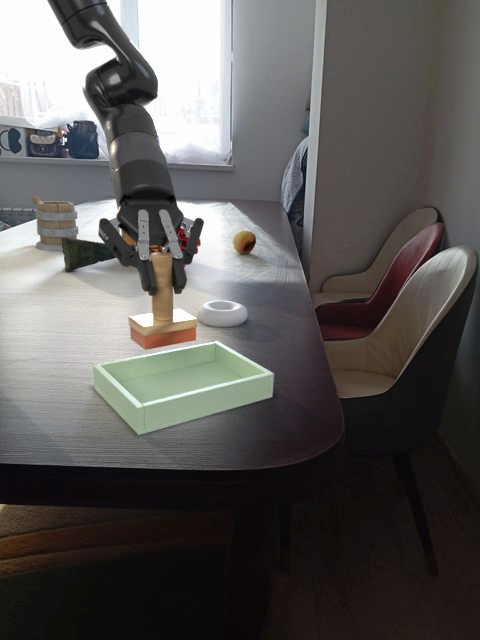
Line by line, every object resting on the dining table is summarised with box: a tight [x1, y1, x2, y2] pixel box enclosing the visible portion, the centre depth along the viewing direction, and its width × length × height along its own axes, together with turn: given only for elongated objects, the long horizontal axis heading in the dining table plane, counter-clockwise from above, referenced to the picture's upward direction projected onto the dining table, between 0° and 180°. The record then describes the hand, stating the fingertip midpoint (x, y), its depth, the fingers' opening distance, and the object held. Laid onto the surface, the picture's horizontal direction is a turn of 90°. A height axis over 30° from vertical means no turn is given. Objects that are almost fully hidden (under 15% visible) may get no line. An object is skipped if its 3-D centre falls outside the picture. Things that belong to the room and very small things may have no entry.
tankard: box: [30, 195, 79, 252], centre depth 164 cm, size 20×13×15 cm, turn 49°
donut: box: [196, 300, 249, 328], centre depth 101 cm, size 10×3×10 cm
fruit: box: [232, 229, 257, 256], centre depth 169 cm, size 8×8×8 cm
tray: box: [92, 340, 275, 436], centre depth 70 cm, size 20×15×4 cm
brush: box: [128, 252, 198, 351], centre depth 64 cm, size 7×5×11 cm, turn 126°
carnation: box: [61, 227, 202, 273], centre depth 136 cm, size 16×18×35 cm
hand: (166, 291), depth 62 cm, fingers closed on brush, 2 cm apart
